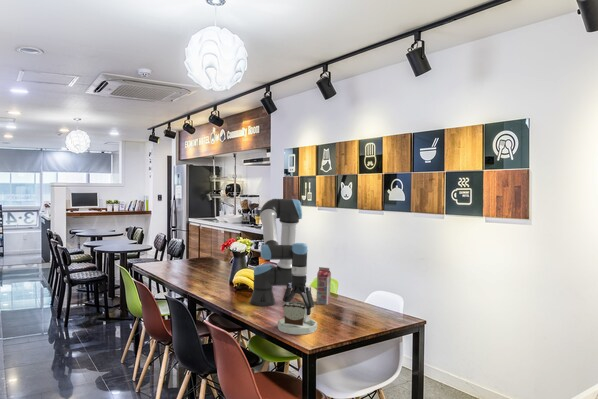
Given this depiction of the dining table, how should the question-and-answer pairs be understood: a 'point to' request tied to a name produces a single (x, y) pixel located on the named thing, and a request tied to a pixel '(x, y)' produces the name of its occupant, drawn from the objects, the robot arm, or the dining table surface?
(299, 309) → the food container
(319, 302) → the juice carton
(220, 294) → the dining table surface
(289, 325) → the round tray
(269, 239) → the robot arm
